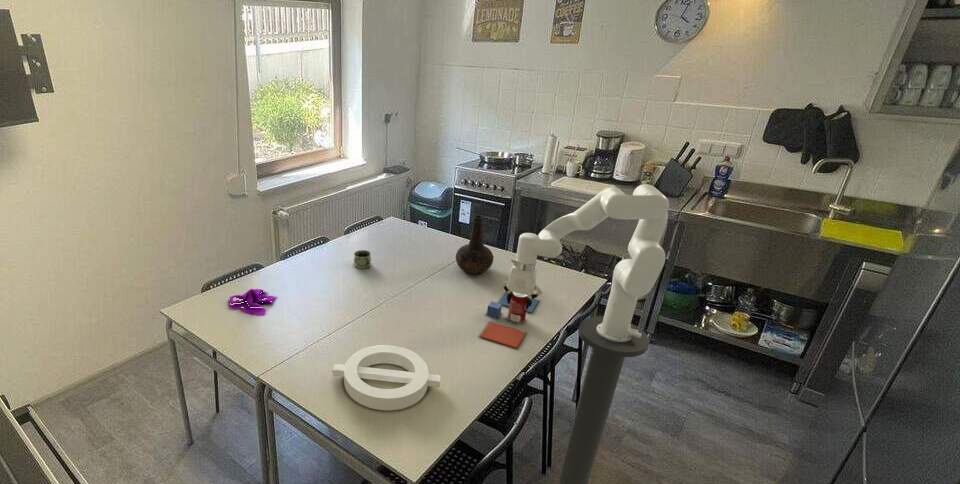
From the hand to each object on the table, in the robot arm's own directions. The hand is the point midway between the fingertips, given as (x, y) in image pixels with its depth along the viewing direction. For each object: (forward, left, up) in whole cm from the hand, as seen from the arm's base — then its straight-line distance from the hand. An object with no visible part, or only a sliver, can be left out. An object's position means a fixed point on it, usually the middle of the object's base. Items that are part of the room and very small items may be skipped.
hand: (518, 304), depth 196 cm
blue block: (+9, +1, -7) cm, 12 cm away
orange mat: (+1, +14, -7) cm, 16 cm away
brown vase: (+31, -34, -7) cm, 47 cm away
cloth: (+100, +47, -7) cm, 111 cm away
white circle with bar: (+26, +62, -7) cm, 68 cm away
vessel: (+80, -10, -7) cm, 81 cm away
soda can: (0, 0, -7) cm, 7 cm away
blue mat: (+3, -14, -7) cm, 16 cm away
